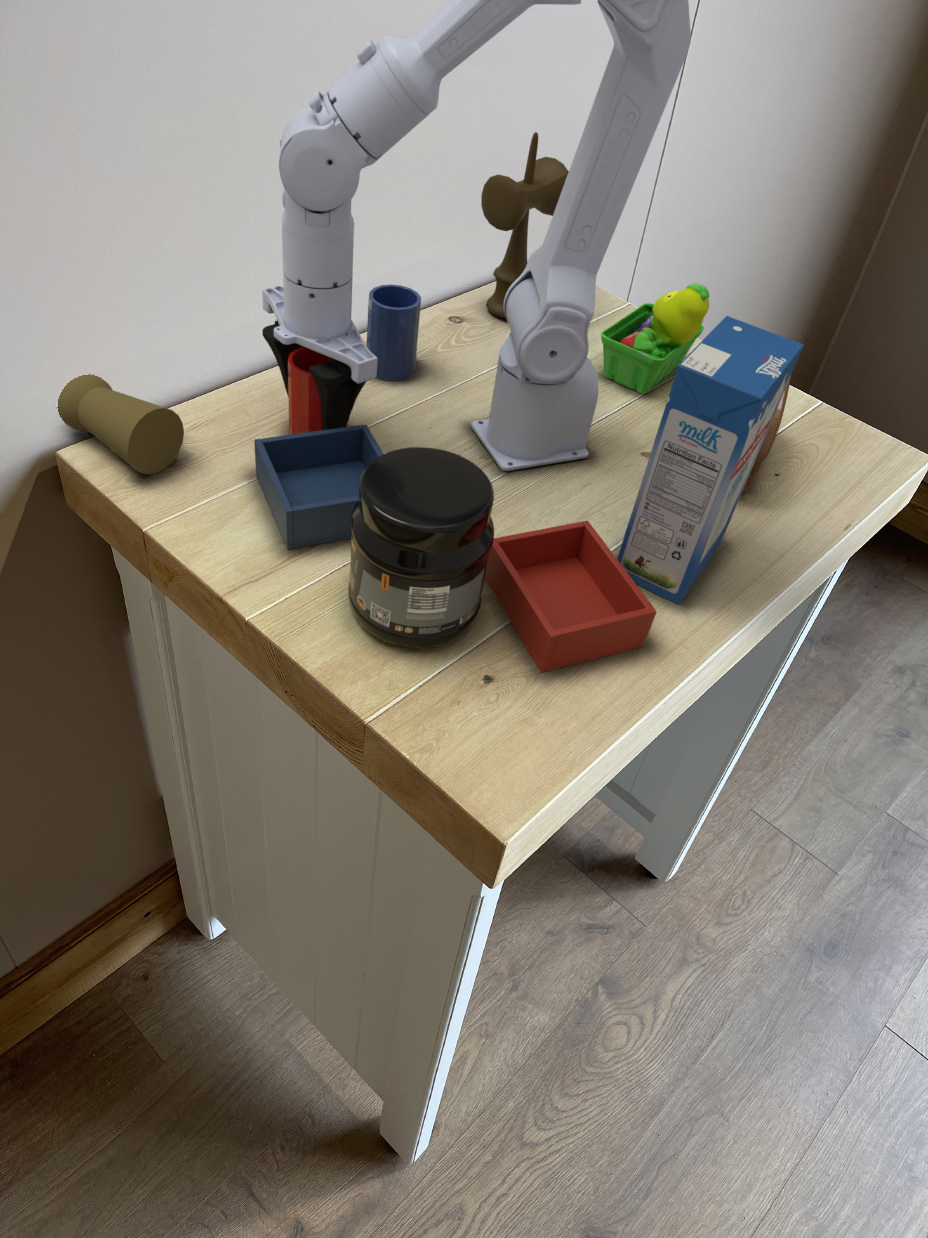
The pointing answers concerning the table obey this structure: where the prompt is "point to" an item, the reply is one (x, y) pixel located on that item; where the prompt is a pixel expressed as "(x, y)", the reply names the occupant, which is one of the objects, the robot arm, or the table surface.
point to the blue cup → (393, 330)
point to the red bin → (567, 595)
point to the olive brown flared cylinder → (123, 423)
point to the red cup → (304, 391)
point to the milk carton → (704, 453)
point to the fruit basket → (654, 338)
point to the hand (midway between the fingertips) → (317, 413)
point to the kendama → (519, 213)
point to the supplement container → (420, 546)
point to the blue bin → (314, 481)
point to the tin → (768, 439)
